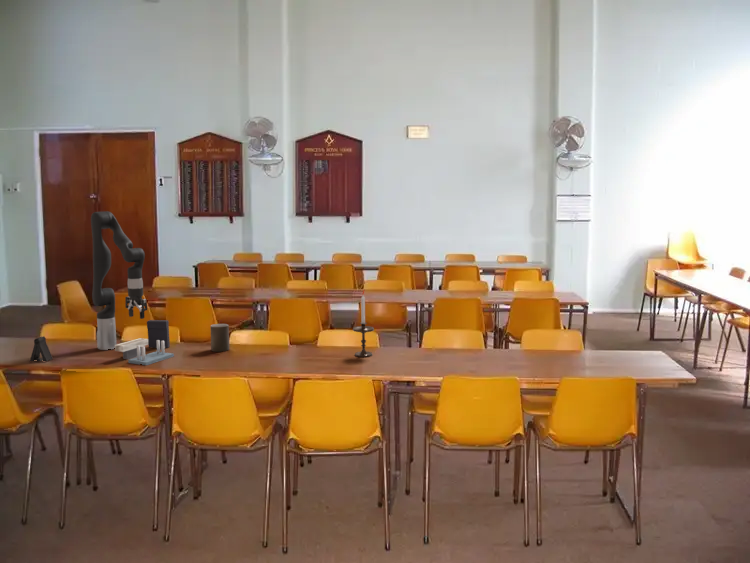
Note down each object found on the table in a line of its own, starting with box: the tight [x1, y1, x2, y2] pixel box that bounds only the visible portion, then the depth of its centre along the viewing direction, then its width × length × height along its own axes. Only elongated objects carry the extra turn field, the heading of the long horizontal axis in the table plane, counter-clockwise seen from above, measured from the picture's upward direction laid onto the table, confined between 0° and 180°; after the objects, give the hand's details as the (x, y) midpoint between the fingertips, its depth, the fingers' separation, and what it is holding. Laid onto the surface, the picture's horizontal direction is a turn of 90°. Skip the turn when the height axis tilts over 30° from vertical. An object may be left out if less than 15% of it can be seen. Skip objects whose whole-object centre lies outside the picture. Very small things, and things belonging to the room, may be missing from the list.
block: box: [122, 347, 142, 360], centre depth 381 cm, size 3×10×5 cm, turn 154°
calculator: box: [146, 319, 171, 349], centre depth 402 cm, size 11×4×15 cm, turn 84°
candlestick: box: [352, 289, 375, 358], centre depth 379 cm, size 11×11×35 cm
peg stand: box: [127, 340, 175, 366], centre depth 375 cm, size 12×20×8 cm, turn 154°
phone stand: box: [29, 335, 53, 362], centre depth 375 cm, size 9×6×12 cm, turn 85°
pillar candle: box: [210, 323, 230, 353], centre depth 395 cm, size 10×10×15 cm
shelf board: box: [114, 337, 149, 353], centre depth 380 cm, size 6×18×3 cm, turn 154°
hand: (136, 317), depth 379 cm, fingers open, 8 cm apart
